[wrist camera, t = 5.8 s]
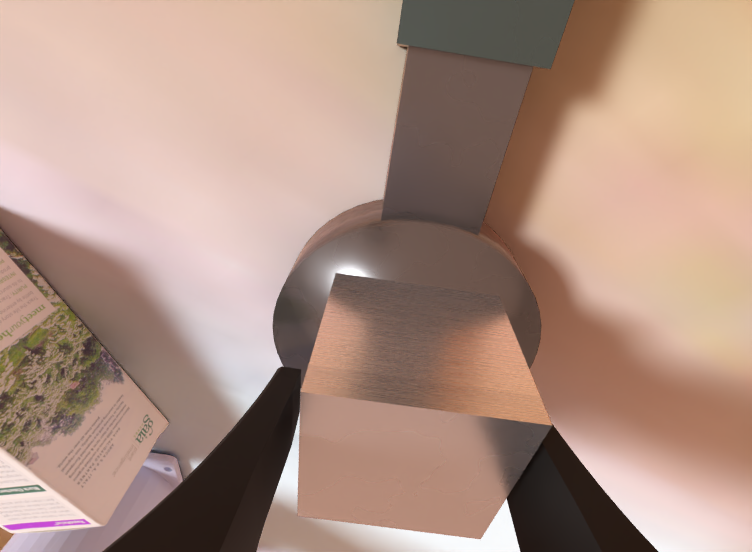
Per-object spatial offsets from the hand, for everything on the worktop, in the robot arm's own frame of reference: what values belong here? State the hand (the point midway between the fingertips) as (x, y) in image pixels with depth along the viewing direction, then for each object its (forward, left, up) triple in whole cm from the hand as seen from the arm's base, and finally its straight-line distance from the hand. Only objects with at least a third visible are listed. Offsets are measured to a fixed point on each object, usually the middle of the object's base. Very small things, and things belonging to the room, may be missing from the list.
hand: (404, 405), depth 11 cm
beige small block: (0, 0, -3) cm, 3 cm away
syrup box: (+2, +20, -2) cm, 20 cm away
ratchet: (+5, 0, -5) cm, 7 cm away
